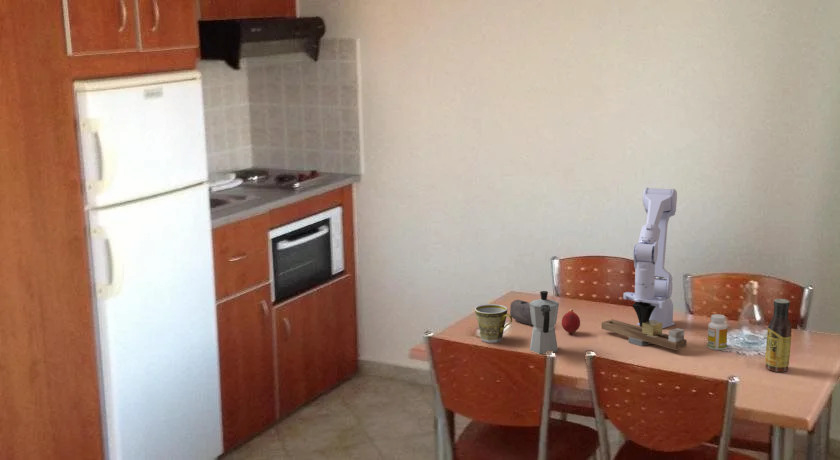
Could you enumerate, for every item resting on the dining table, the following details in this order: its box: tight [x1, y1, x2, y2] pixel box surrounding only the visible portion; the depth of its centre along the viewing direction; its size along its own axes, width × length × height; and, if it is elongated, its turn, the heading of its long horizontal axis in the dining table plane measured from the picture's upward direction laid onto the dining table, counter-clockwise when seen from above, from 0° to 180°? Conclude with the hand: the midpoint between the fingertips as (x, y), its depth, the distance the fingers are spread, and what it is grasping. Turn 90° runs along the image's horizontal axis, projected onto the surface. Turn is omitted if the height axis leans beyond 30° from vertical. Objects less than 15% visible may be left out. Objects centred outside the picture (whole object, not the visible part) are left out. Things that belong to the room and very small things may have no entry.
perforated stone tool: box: [509, 299, 534, 327], centre depth 308 cm, size 15×5×7 cm, turn 37°
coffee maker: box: [528, 290, 560, 355], centre depth 280 cm, size 15×9×18 cm, turn 178°
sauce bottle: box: [764, 298, 793, 373], centre depth 260 cm, size 6×6×20 cm
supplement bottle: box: [707, 313, 728, 351], centre depth 281 cm, size 5×5×10 cm
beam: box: [601, 318, 687, 351], centre depth 288 cm, size 7×28×6 cm, turn 38°
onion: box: [561, 308, 581, 335], centre depth 297 cm, size 6×6×8 cm
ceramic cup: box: [474, 303, 513, 344], centre depth 292 cm, size 13×10×10 cm
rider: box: [642, 320, 663, 336], centre depth 285 cm, size 4×4×5 cm
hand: (643, 326), depth 287 cm, fingers closed
